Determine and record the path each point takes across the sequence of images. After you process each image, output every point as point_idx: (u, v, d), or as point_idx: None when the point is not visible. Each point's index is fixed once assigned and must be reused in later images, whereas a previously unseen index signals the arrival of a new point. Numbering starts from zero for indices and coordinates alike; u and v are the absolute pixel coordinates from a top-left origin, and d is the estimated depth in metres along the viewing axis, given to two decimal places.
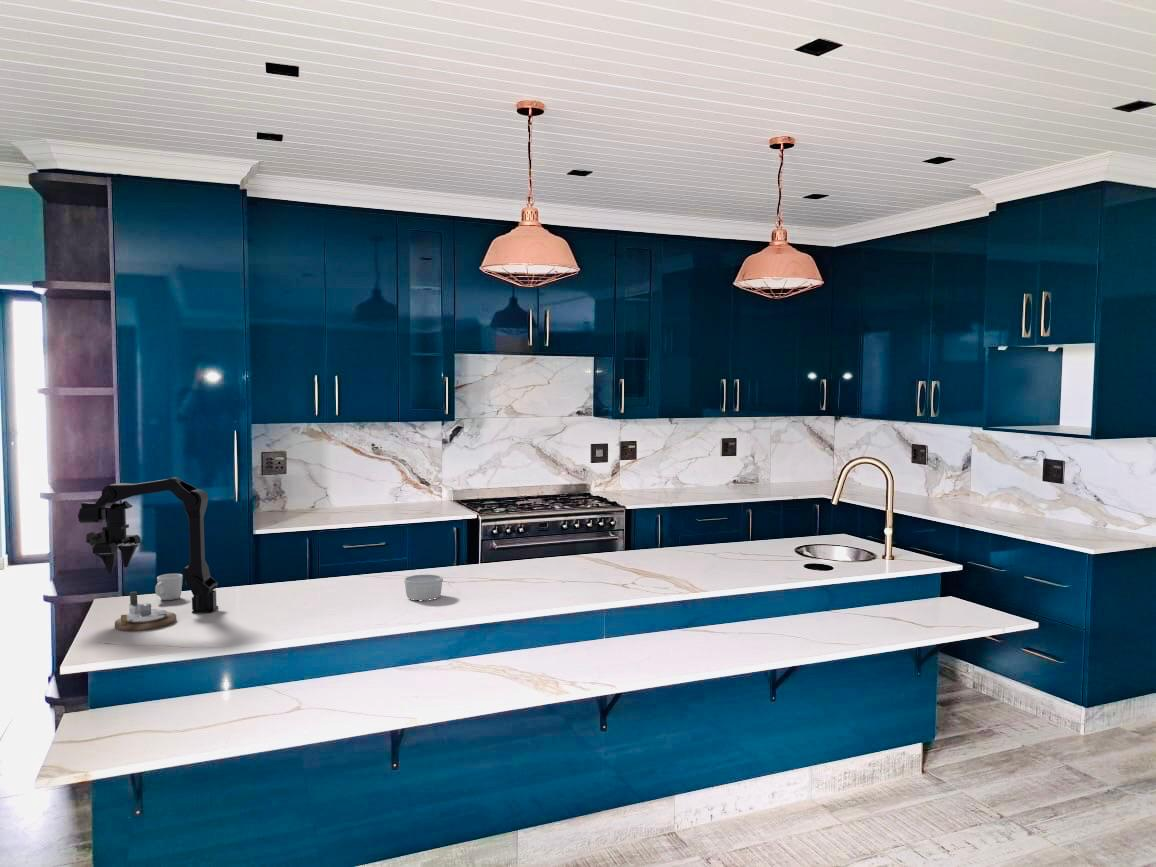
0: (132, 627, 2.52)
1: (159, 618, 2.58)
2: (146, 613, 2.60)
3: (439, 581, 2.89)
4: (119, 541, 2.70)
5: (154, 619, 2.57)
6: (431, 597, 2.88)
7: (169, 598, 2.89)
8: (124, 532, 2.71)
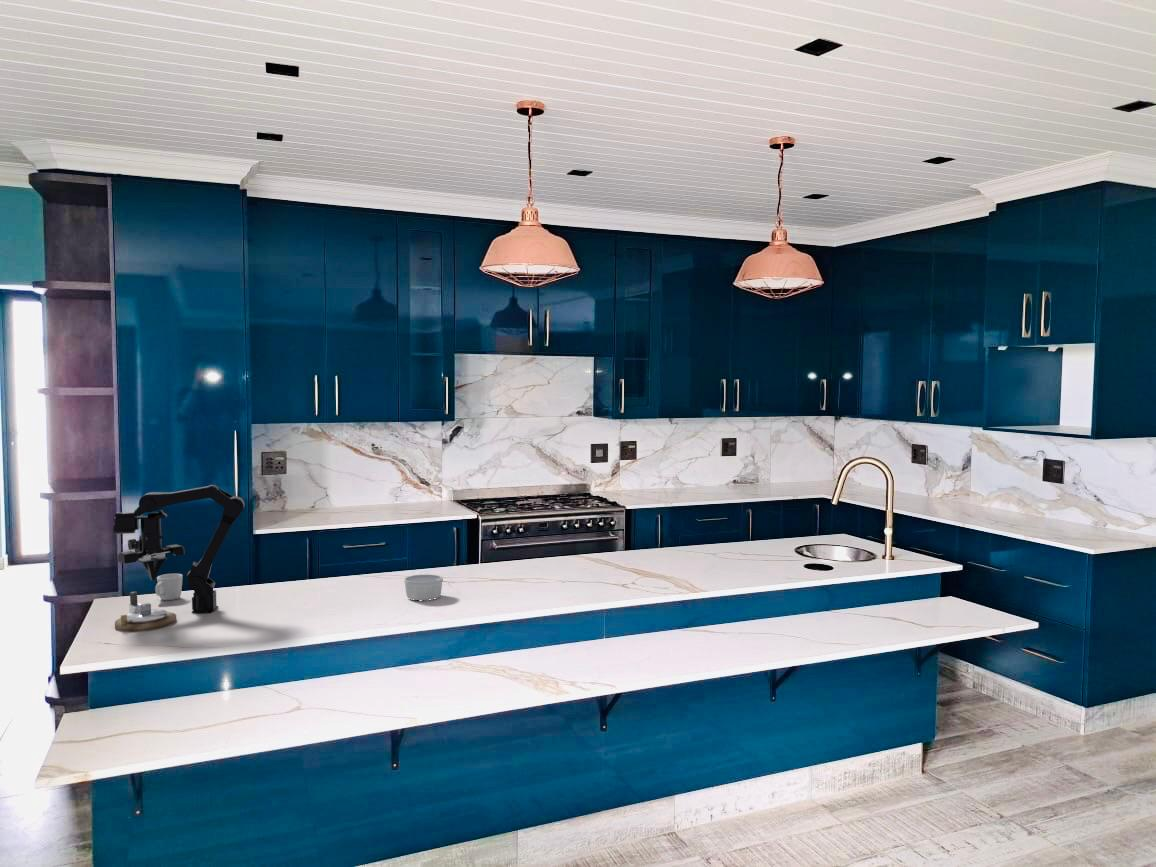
0: (132, 627, 2.52)
1: (159, 618, 2.58)
2: (146, 613, 2.60)
3: (439, 581, 2.89)
4: (146, 551, 2.67)
5: (154, 619, 2.57)
6: (431, 597, 2.88)
7: (169, 598, 2.89)
8: (154, 543, 2.68)
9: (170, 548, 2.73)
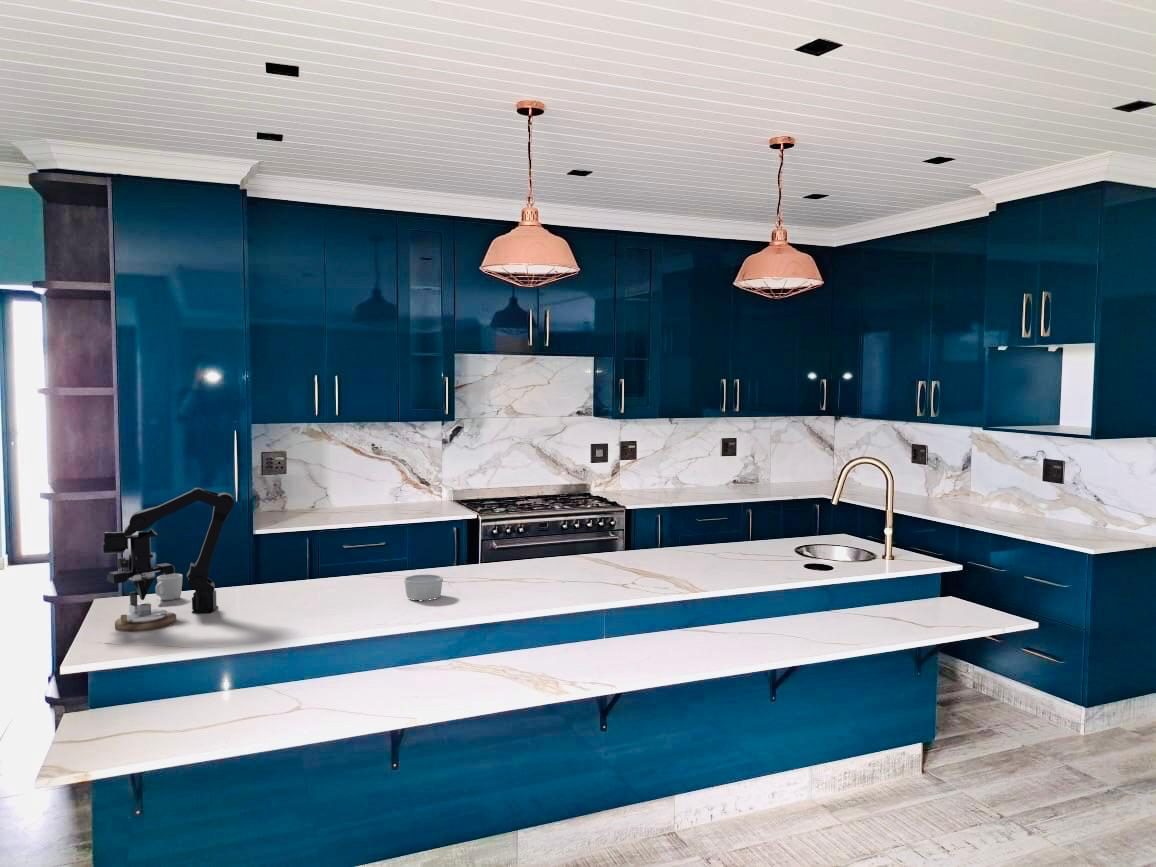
0: (132, 627, 2.52)
1: (159, 618, 2.58)
2: (146, 613, 2.60)
3: (439, 581, 2.89)
4: (136, 571, 2.64)
5: (154, 619, 2.57)
6: (431, 597, 2.88)
7: (169, 598, 2.89)
8: (144, 562, 2.65)
9: (160, 567, 2.71)
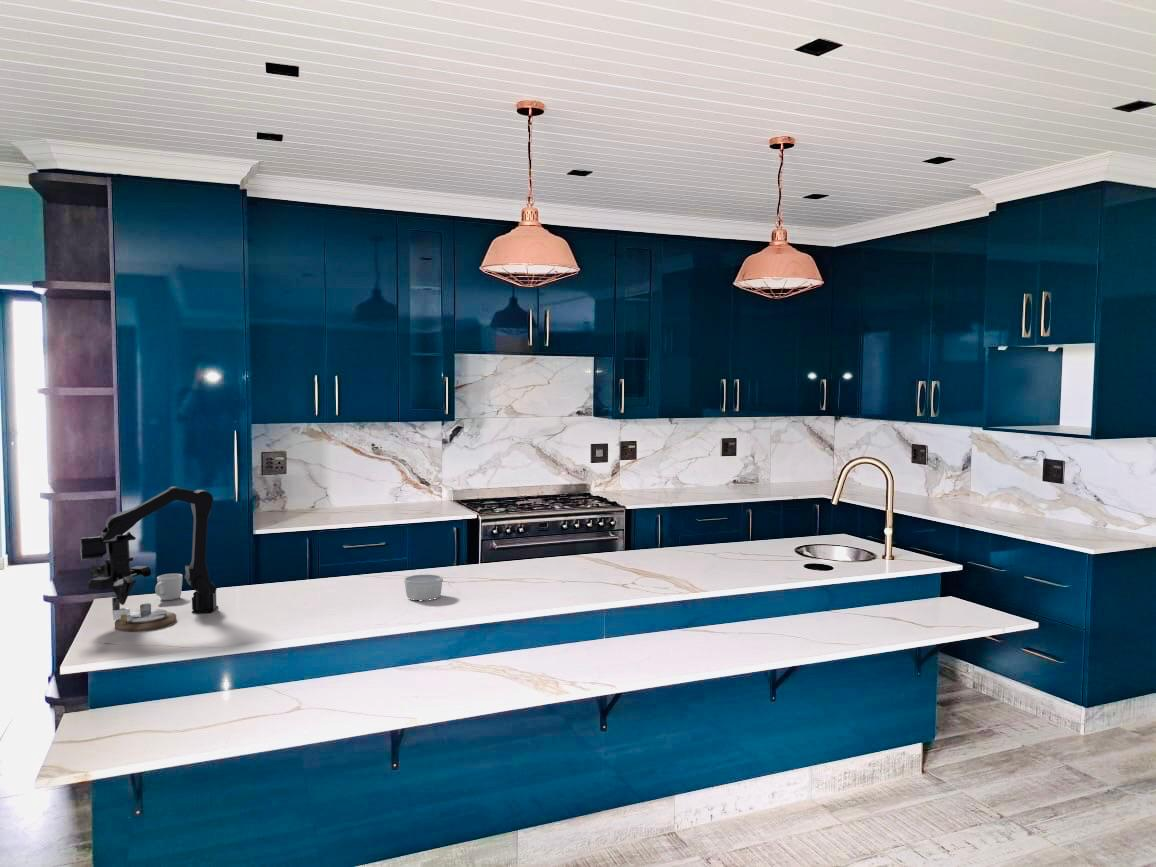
0: (132, 627, 2.52)
1: None
2: (150, 612, 2.61)
3: (439, 581, 2.89)
4: (119, 575, 2.58)
5: (166, 615, 2.62)
6: (431, 597, 2.88)
7: (169, 598, 2.89)
8: (126, 566, 2.60)
9: (137, 570, 2.66)
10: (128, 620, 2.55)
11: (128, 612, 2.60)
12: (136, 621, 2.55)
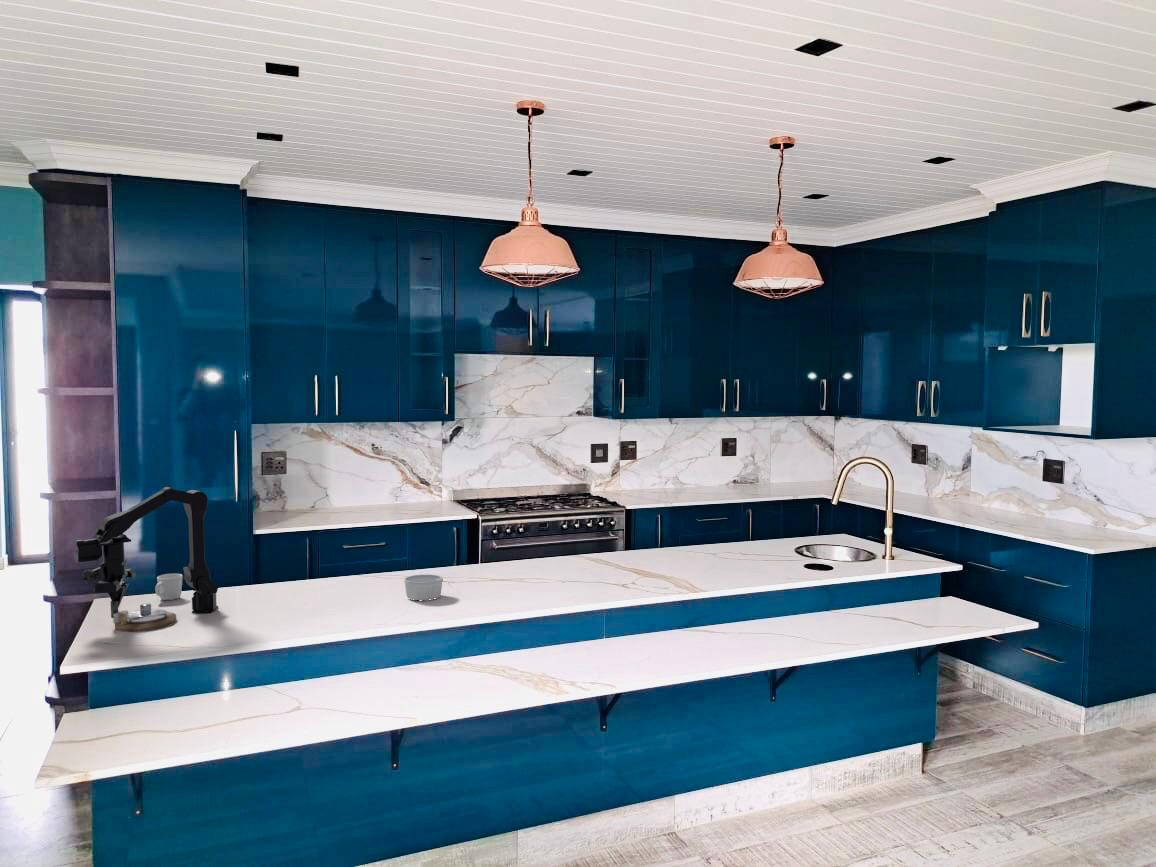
0: (132, 627, 2.52)
1: None
2: (151, 611, 2.61)
3: (439, 581, 2.89)
4: (120, 578, 2.55)
5: None
6: (431, 597, 2.88)
7: (169, 598, 2.89)
8: (124, 568, 2.57)
9: (124, 572, 2.63)
10: (137, 620, 2.55)
11: (127, 614, 2.58)
12: (147, 620, 2.56)
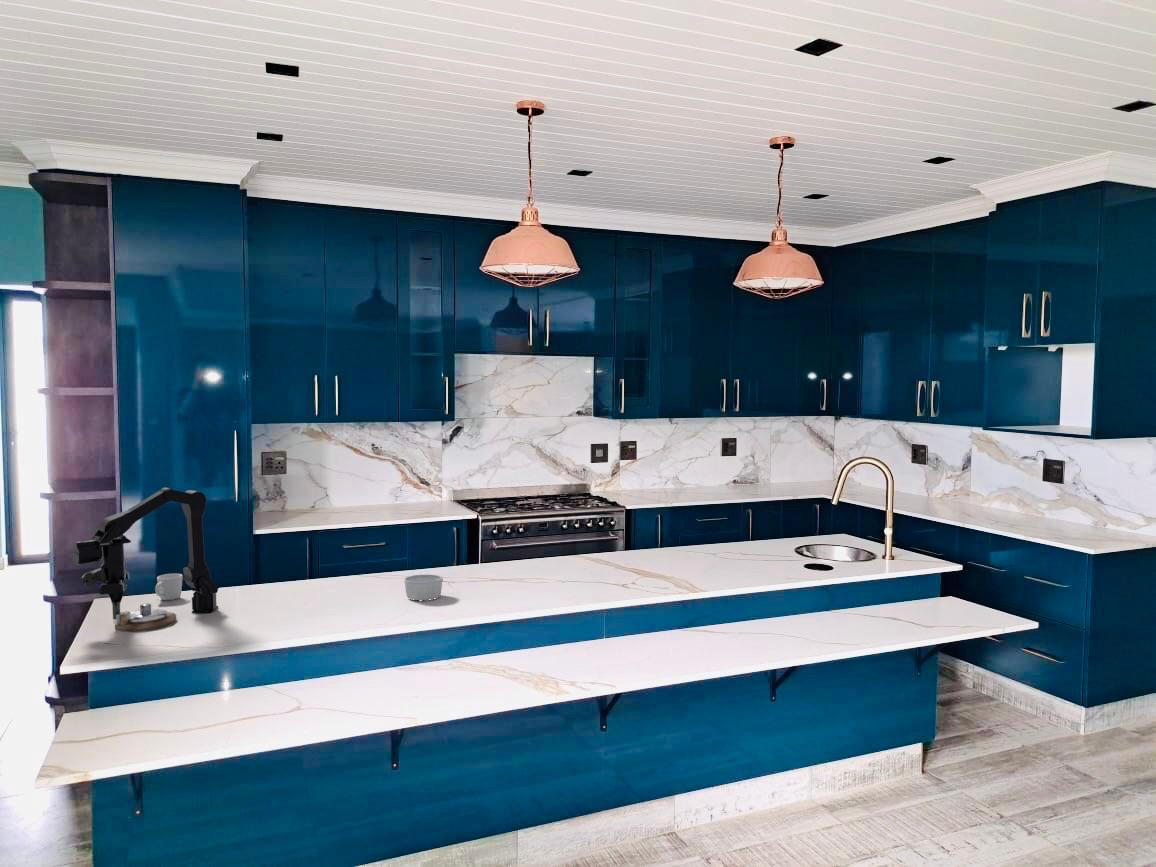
0: (132, 627, 2.52)
1: None
2: (150, 611, 2.62)
3: (439, 581, 2.89)
4: (121, 578, 2.54)
5: None
6: (431, 597, 2.88)
7: (169, 598, 2.89)
8: (124, 568, 2.56)
9: None
10: (141, 620, 2.55)
11: None
12: (152, 619, 2.56)
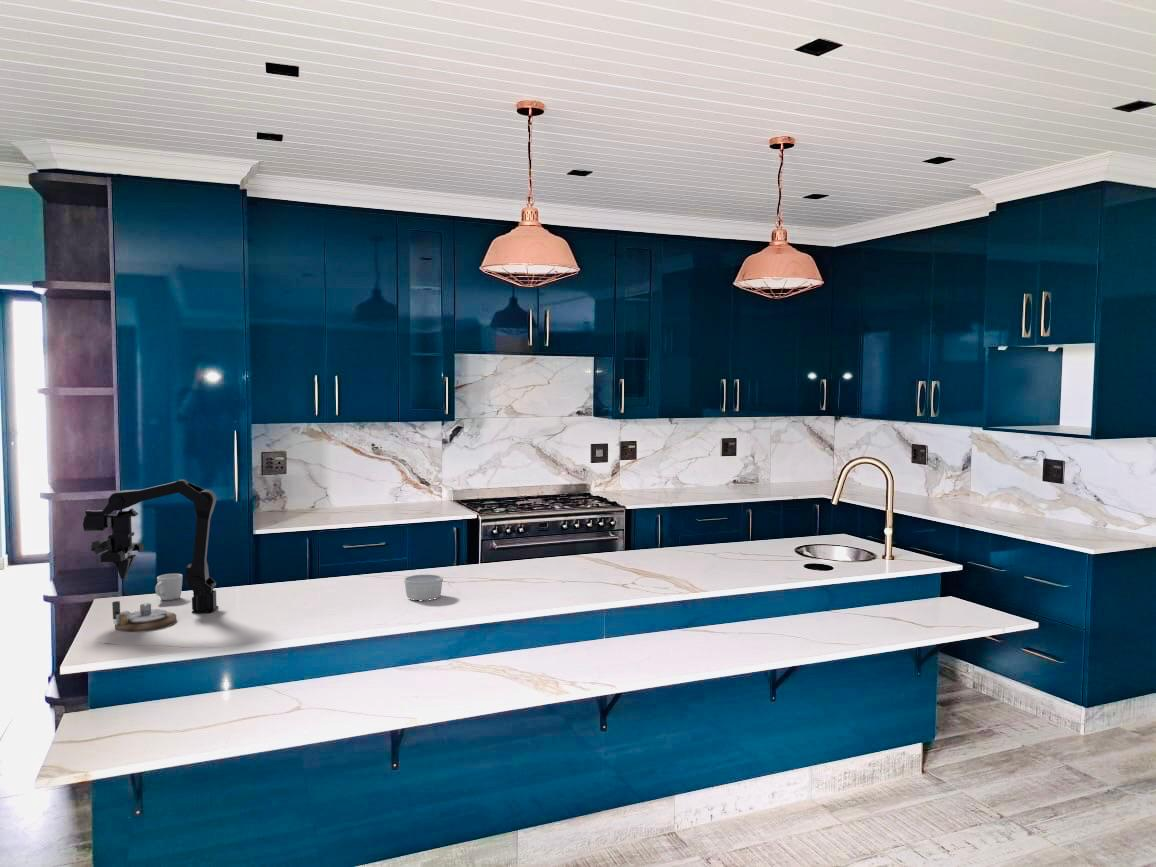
0: (132, 627, 2.52)
1: None
2: (150, 611, 2.62)
3: (439, 581, 2.89)
4: (126, 549, 2.67)
5: None
6: (431, 597, 2.88)
7: (169, 598, 2.89)
8: (130, 540, 2.69)
9: None
10: (141, 620, 2.55)
11: None
12: (152, 619, 2.56)
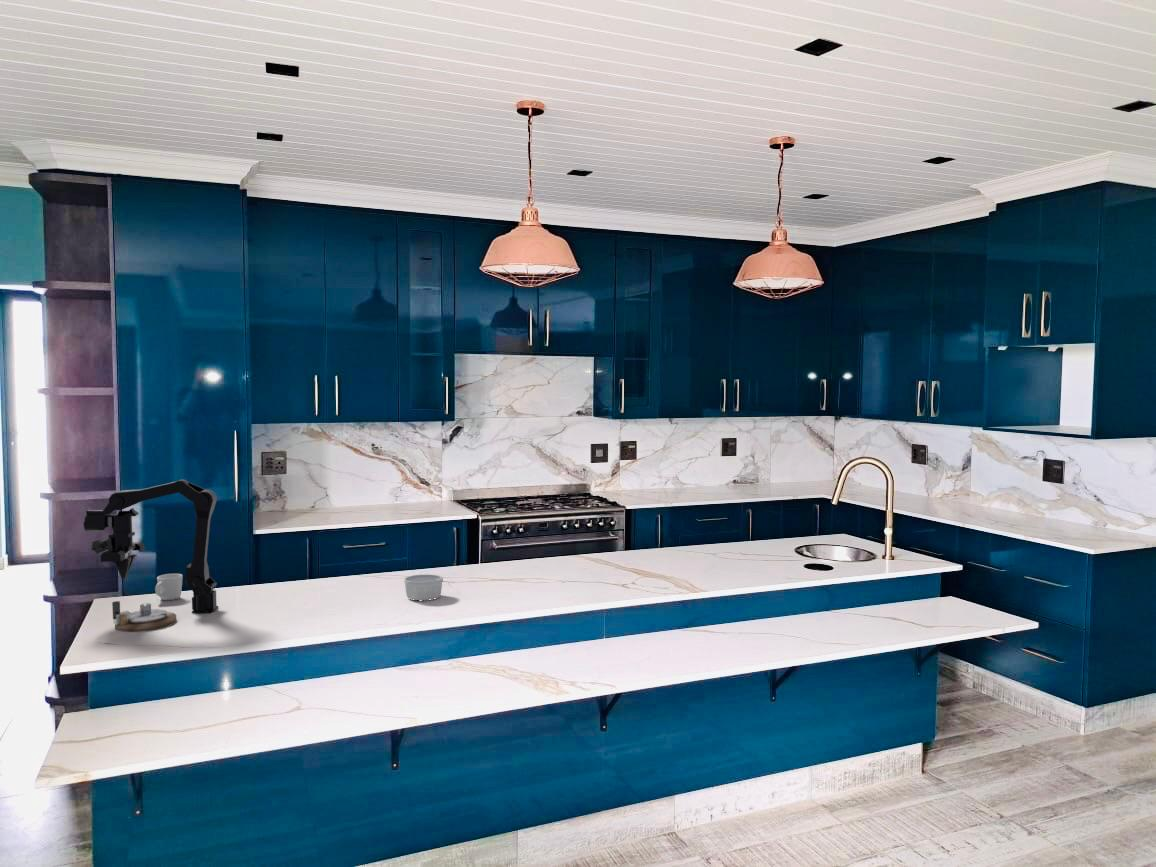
0: (132, 627, 2.52)
1: None
2: (150, 611, 2.62)
3: (439, 581, 2.89)
4: (126, 549, 2.67)
5: None
6: (431, 597, 2.88)
7: (169, 598, 2.89)
8: (131, 540, 2.69)
9: None
10: (141, 620, 2.55)
11: None
12: (152, 619, 2.56)
